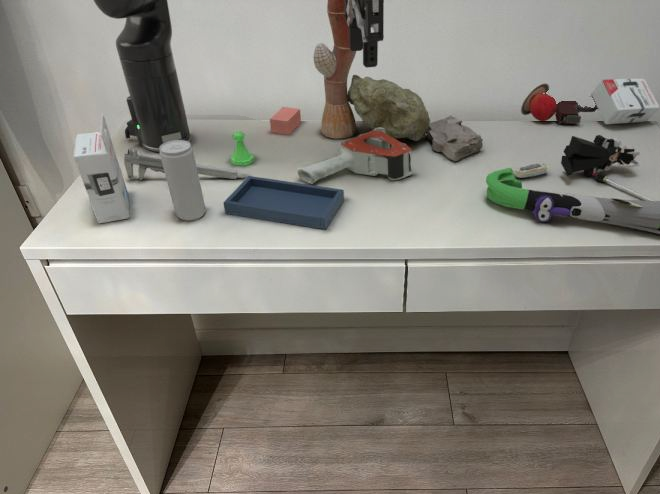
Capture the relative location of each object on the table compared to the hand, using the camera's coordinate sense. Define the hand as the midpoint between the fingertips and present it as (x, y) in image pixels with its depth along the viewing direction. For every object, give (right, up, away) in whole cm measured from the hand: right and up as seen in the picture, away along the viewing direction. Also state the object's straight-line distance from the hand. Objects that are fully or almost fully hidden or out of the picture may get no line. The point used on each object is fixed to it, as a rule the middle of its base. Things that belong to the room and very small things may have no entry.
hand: (362, 58), depth 91 cm
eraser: (-18, -3, +28) cm, 33 cm away
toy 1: (+50, -25, -2) cm, 56 cm away
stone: (+18, -9, +22) cm, 30 cm away
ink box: (+51, +3, +29) cm, 59 cm away
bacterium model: (+30, -18, +9) cm, 37 cm away
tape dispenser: (-1, -15, +14) cm, 21 cm away
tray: (-13, -24, +3) cm, 28 cm away
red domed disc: (+37, +5, +33) cm, 50 cm away
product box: (-42, -25, +1) cm, 48 cm away
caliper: (-32, -18, +10) cm, 38 cm away
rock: (+12, +2, +24) cm, 26 cm away
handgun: (+54, -1, +30) cm, 62 cm away
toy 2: (+38, -18, +4) cm, 42 cm away
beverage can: (-28, -26, 0) cm, 38 cm away
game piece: (-24, -13, +16) cm, 31 cm away
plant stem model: (-5, -5, +26) cm, 27 cm away
